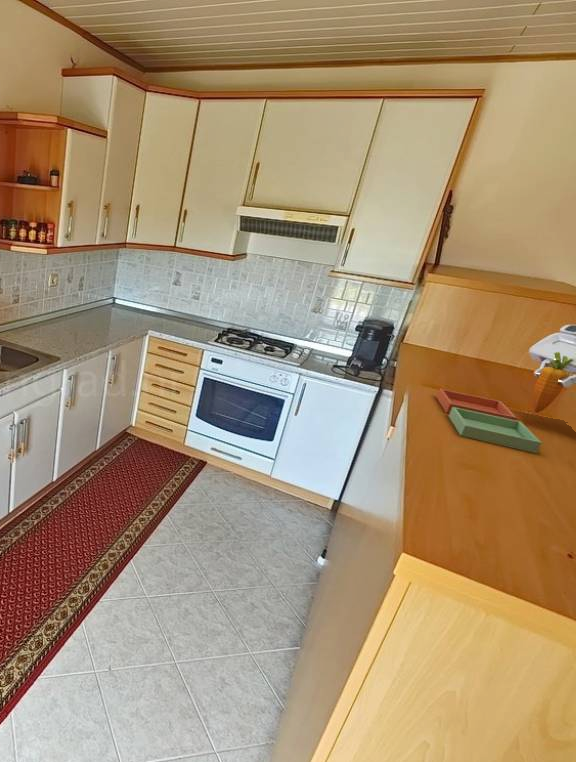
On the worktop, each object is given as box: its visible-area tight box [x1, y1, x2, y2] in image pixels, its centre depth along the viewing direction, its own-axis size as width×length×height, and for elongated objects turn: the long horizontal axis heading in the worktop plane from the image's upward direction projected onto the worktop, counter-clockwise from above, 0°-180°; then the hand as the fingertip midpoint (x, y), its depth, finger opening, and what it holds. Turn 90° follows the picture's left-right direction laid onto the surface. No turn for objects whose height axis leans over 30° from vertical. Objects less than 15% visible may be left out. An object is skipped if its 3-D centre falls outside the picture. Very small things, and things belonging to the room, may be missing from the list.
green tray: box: [448, 407, 542, 454], centre depth 110 cm, size 13×13×3 cm
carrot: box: [532, 352, 573, 414], centre depth 116 cm, size 5×5×15 cm
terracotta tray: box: [436, 388, 518, 421], centre depth 124 cm, size 13×13×3 cm
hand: (548, 380), depth 115 cm, fingers closed on carrot, 4 cm apart
